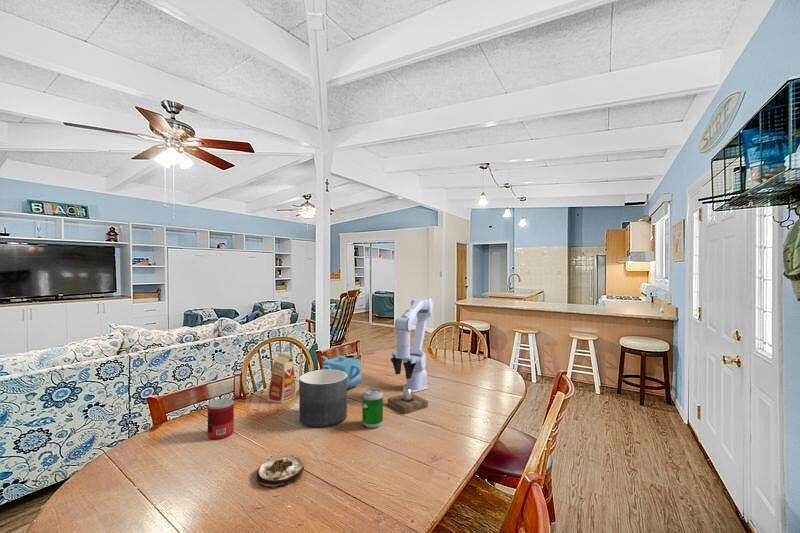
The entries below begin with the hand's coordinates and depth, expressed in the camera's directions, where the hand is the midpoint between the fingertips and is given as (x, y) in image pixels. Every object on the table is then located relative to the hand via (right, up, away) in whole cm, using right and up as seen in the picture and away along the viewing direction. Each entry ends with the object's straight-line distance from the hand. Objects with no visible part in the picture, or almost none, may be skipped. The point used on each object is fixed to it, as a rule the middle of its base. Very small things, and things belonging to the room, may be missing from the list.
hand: (403, 376), depth 153 cm
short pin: (-14, -10, +1) cm, 17 cm away
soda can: (-11, -10, -25) cm, 29 cm away
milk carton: (-52, -10, 0) cm, 53 cm away
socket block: (+2, -10, -7) cm, 12 cm away
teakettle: (-30, -10, +15) cm, 35 cm away
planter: (-31, -10, -19) cm, 37 cm away
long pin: (+2, -10, -7) cm, 13 cm away
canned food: (-63, -10, -33) cm, 72 cm away
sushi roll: (-34, -10, -56) cm, 66 cm away
